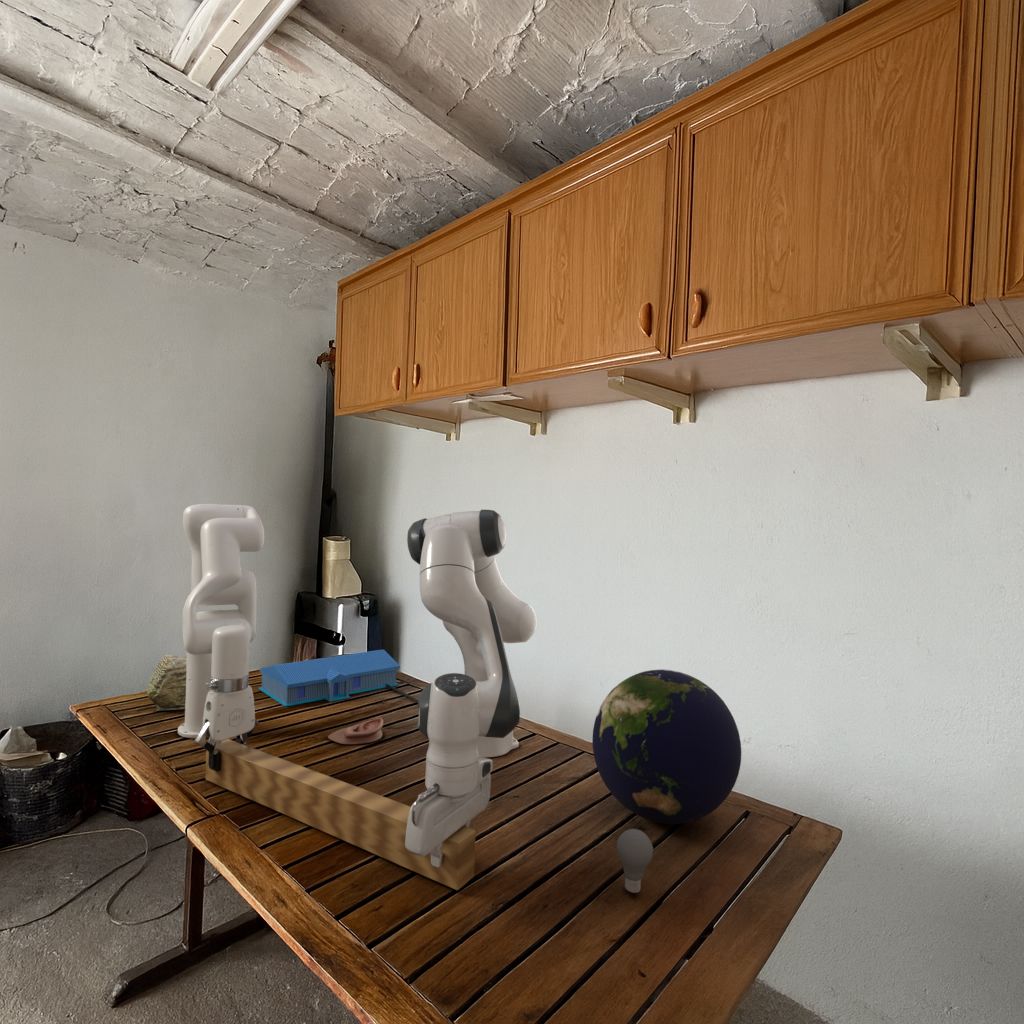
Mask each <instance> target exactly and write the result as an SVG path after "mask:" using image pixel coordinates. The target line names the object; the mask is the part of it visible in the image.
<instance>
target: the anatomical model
mask: <svg viewBox="0 0 1024 1024" xmlns="http://www.w3.org/2000/svg"><path fill="white" fill-rule="evenodd" d="M383 727H384V719H383V718H382V717H378V718H373V719H369V720H365V721H363V722H359V723H357V724H354V725H351V726H347V727H344V728H341V729H338V730H336V731H333V732H332V733H330V734H329V735H328V736H327V739H328V740H330V741H333V742H334V743H338V744H340V745H359V744H368V743H372V742H375V741H378V740H380V739H381V738H382V737H383V731H382V730H381V729H382V728H383Z"/></svg>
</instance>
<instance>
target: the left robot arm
mask: <svg viewBox="0 0 1024 1024" xmlns="http://www.w3.org/2000/svg"><path fill="white" fill-rule="evenodd" d="M182 527H183V532H184V535H185V538H186V540H187V543H188V545H189V549H190V553H191V554H190V555H191V571H190V572H191V573H190V574H191V575H190V577H191V578H190V579H191V580H190V587H191V588H190V593H189V594H188V596H187V598H186V600H185V602H184V605H183V609H182V617H181V618H182V643H183V647H184V650H185V651H186V652H185V653H186V657H187V669H186V701H185V709H184V722H182V724H180V725H179V726H178V727H177V734H178V735H179V736H180V737H182V738H188V739H194V744H196V745H198V746H199V747H201V748H203V749H204V750H205V752H206V751H208V752H209V760H208V765H209V768H210V769H211V770H214V771H216V772H218V771H220V770H221V753H219V749H220V745H221V741H223V740H226V739H233V738H235V740H234V741H235V742H238V743H240V744H243V745H246V744H248V742H249V738H250V737H251V735H252V734H253V732H254V730H256V728H258V726H259V721H258V720H257V719H256V712H255V711H256V709H255V708H256V707H255V698H254V692H253V688H252V685H249V677H250V675H249V674H250V649H251V643H252V642H253V641H254V640H255V638H256V634H257V615H258V613H257V612H258V611H257V607H258V603H257V599H258V597H257V595H258V594H257V593H258V590H257V589H258V588H257V579H256V576H255V574H254V572H252V571H251V570H249V569H245V568H242V565H241V553H246V552H248V553H249V552H250V553H255V552H259V551H261V550H262V549H263V547H264V544H265V537H266V535H265V527H264V524H263V522H262V519H261V517H260V515H259V514H258V512H257V510H256V508H255V507H253V506H251V505H245V504H223V503H222V504H221V503H198V504H192V505H189V506H187V507H186V508H185V509H184V510H183V513H182ZM229 605H235V606H237V608H236V609H215V610H213V609H212V610H203V611H197V610H198V607H199V606H229ZM207 738H208V740H206V739H207ZM214 742H215V743H214ZM213 745H214V746H213Z"/></svg>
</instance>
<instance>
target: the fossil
mask: <svg viewBox="0 0 1024 1024" xmlns="http://www.w3.org/2000/svg"><path fill="white" fill-rule="evenodd" d="M186 669H187V656H183V657H182V656H178V655H175V654H174V655H173V654H165V655H164V656H163V657H162V658H161V659H160V660H159V662H158V663H157V666H156V667H155V669H154V670H153V672H152V675H151V677H150V680H149V684H148V688H147V697H148V699H149V700H150V701H152V703H153V704H154V706H155V711H158V712H159V711H162V712H163V711H177V710H185V701H186Z"/></svg>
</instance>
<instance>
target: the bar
mask: <svg viewBox="0 0 1024 1024" xmlns="http://www.w3.org/2000/svg"><path fill="white" fill-rule="evenodd" d="M235 741H236V740H232V739H231V738H229V739H226V740H223V741H221V745H220V749H219V753H221V770H220V771H218V772H216V771H214V770H211V769H210V768H209V765H208V760H209V752H208V751H206V750H205V781H208V782H210V783H212V784H214V785H216V786H219V787H221V788H223V789H225V790H228V791H230V792H233V793H234V794H237V795H240V796H242V797H244V798H246V799H249V800H251V801H253V802H256V803H258V804H260V805H262V806H265V807H266V808H269V809H272V810H273V811H276V812H278V813H281V814H283V815H286V816H287V817H289V818H292V819H294V820H297V821H298V822H301V823H303V824H306V825H308V826H310V827H312V828H314V829H317V830H319V831H321V832H323V833H326V834H328V835H331V836H333V837H335V838H337V839H339V840H342V841H344V842H346V843H349V844H350V845H353V846H355V847H358V848H360V849H363V850H365V851H366V852H369V853H371V854H374V855H376V856H378V857H380V858H383V859H385V860H388V861H390V862H392V863H394V864H396V865H399V866H400V867H403V868H406V869H407V870H410V871H413V872H415V873H417V874H419V875H421V876H424V877H426V878H428V879H430V880H433V881H435V882H437V883H440V884H442V885H444V886H447V887H449V888H451V889H453V890H456V891H459V890H460V889H461V888H462V887H464V886H465V885H466V884H468V882H469V881H470V880H471V879H473V878H474V877H475V867H476V866H475V865H476V864H475V862H476V832H477V831H476V830H475V829H473V828H470V827H469V828H467V827H464V826H462V827H461V828H460V829H459V830H457V831H456V832H455V833H454V834H452V835H451V836H450V837H448V838H447V839H446V840H445V841H443V842H442V847H441V848H440V850H441V852H443V853H445V858H444V860H445V862H444V863H443V864H442V865H441V866H440V867H435V866H433V865H432V864H431V854H430V853H428V854H427V855H426V856H424V857H422V856H419V855H416V854H413V853H411V852H409V851H408V850H407V849H406V847H405V838H406V829H407V822H408V816H409V811H410V808H411V806H410V805H408V804H405V803H402V802H399V801H397V800H394V799H391V798H388V797H385V796H384V795H381V794H377V793H375V792H372V791H369V790H366V789H365V788H361V787H359V786H357V785H353V784H351V783H348V782H345V781H342V780H340V779H338V778H334V777H332V776H330V775H327V774H324V773H322V772H318V771H315V770H313V769H310V768H307V767H305V766H302V765H299V764H297V763H294V762H292V761H288V760H286V759H283V758H281V757H278V756H275V755H272V754H270V753H267V752H264V751H262V750H259V749H257V748H254V747H252V746H251V747H250V746H248V745H246V744H245V745H243V744H240V743H238V742H235ZM214 743H215V742H214ZM213 746H214V745H213Z"/></svg>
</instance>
